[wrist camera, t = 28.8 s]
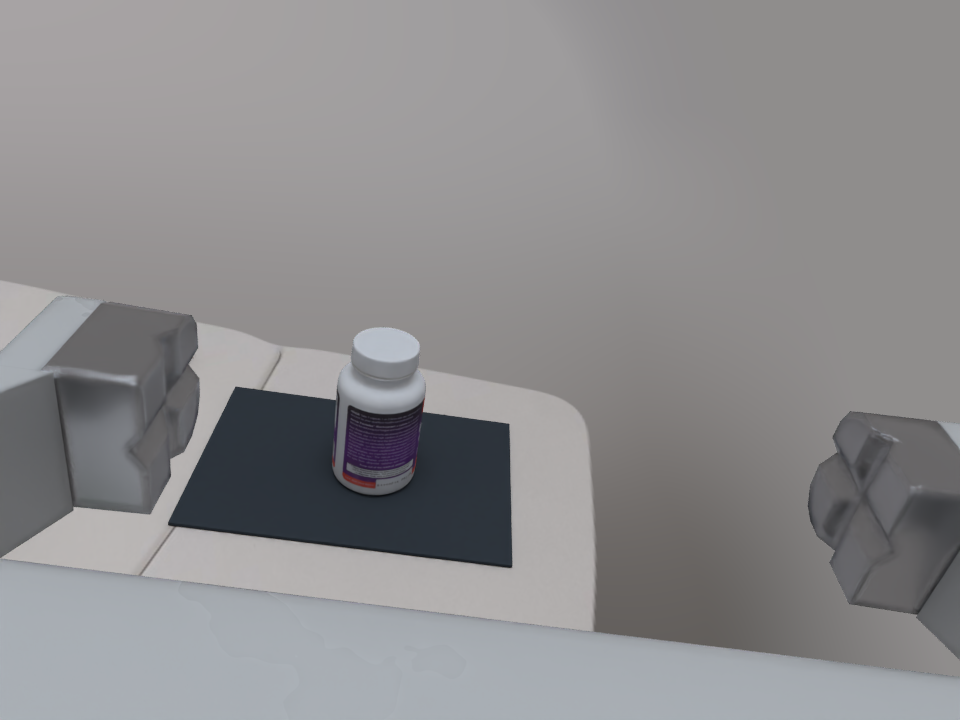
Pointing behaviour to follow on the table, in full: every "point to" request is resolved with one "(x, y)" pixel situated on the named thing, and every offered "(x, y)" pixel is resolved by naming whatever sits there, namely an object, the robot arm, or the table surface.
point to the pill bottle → (378, 412)
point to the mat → (337, 509)
